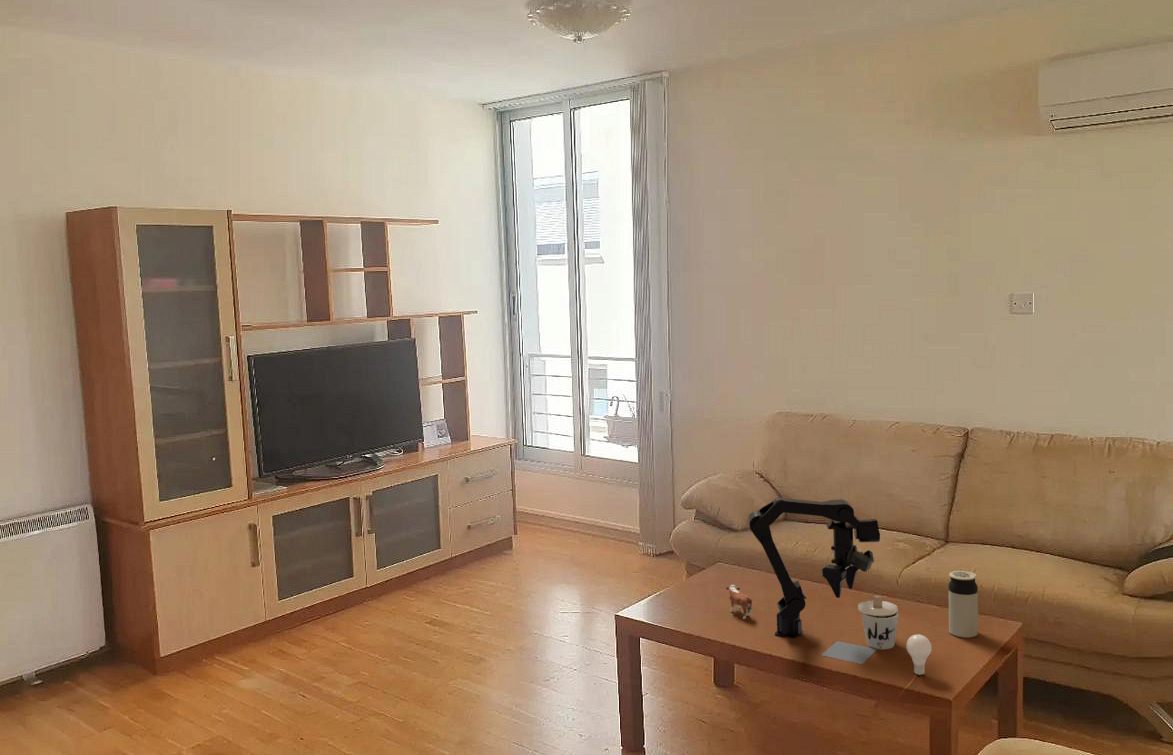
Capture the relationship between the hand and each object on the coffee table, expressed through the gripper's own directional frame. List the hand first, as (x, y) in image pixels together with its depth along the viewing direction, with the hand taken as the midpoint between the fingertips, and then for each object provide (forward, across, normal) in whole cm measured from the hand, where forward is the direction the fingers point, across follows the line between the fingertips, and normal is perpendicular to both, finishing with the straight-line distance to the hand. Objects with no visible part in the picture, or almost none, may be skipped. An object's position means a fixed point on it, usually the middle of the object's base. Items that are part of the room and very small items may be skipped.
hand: (844, 593), depth 277 cm
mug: (+13, -1, -11) cm, 17 cm away
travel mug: (+13, +18, -29) cm, 37 cm away
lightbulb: (+13, -17, -28) cm, 35 cm away
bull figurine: (+13, -2, +35) cm, 38 cm away
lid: (+3, -2, -11) cm, 11 cm away
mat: (+12, -14, -7) cm, 20 cm away
